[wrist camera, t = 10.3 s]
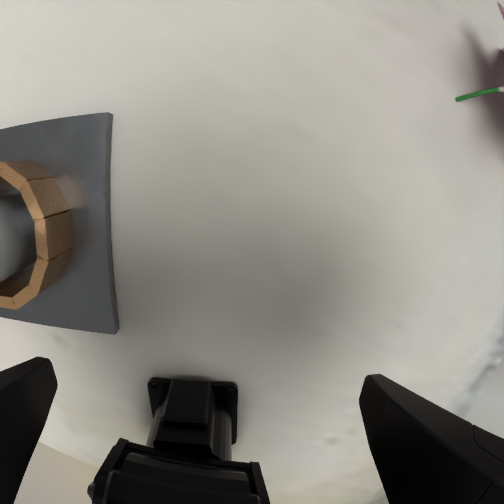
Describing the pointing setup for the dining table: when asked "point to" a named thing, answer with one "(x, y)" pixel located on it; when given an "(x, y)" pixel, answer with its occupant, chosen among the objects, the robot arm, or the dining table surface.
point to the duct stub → (16, 236)
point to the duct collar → (62, 222)
